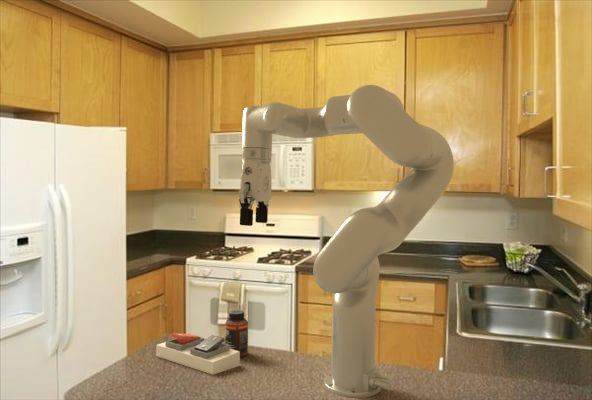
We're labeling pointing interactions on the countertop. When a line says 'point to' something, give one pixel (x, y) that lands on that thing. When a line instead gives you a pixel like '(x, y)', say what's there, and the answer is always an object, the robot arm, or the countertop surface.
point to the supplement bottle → (237, 332)
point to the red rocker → (185, 337)
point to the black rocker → (210, 344)
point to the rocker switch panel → (199, 356)
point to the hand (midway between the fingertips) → (254, 224)
